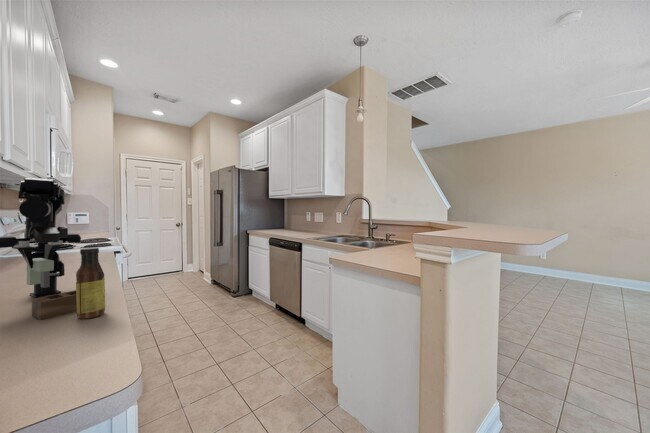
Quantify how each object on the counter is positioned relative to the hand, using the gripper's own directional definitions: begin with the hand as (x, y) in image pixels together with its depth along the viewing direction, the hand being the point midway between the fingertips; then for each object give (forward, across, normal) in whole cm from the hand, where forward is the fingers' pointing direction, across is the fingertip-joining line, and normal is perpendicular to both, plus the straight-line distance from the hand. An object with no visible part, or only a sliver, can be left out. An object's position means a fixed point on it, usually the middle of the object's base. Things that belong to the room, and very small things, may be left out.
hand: (38, 267), depth 82 cm
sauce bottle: (+13, +4, -22) cm, 26 cm away
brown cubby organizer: (+12, +2, -12) cm, 17 cm away
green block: (+6, 0, -1) cm, 6 cm away
